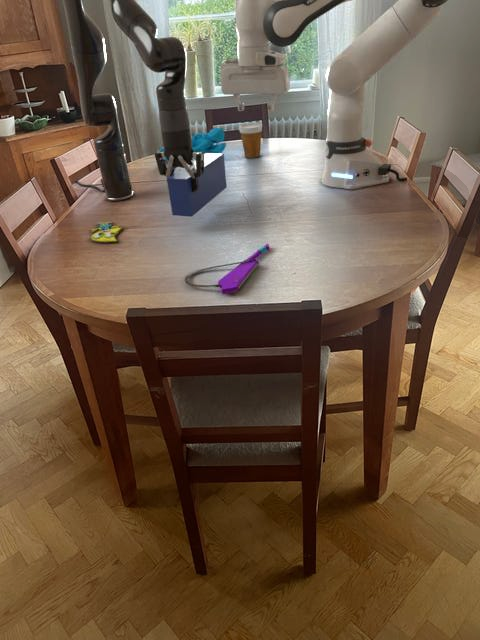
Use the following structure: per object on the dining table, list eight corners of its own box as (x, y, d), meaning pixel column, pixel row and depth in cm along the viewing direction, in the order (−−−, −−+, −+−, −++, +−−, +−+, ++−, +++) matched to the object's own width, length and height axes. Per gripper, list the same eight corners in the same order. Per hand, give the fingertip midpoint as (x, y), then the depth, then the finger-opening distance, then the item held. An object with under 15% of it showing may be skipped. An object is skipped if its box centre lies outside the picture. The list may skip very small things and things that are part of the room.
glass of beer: (264, 157, 198) (262, 127, 191) (241, 159, 198) (238, 129, 192) (263, 152, 206) (261, 122, 199) (241, 153, 206) (239, 124, 200)
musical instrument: (182, 302, 106) (271, 286, 103) (179, 293, 105) (270, 277, 102) (195, 260, 127) (269, 246, 124) (193, 253, 126) (268, 239, 123)
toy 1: (127, 219, 147) (117, 239, 134) (127, 222, 147) (117, 242, 135) (94, 222, 147) (81, 242, 135) (94, 225, 148) (82, 245, 135)
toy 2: (164, 141, 211) (226, 121, 200) (173, 164, 216) (234, 146, 206) (150, 151, 197) (216, 130, 187) (160, 176, 202) (225, 157, 192)
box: (209, 186, 154) (205, 153, 149) (226, 187, 152) (223, 153, 147) (172, 215, 135) (166, 178, 129) (191, 216, 133) (186, 179, 127)
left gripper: (143, 130, 123) (155, 194, 133) (193, 130, 119) (201, 196, 128) (158, 124, 129) (167, 185, 138) (206, 123, 124) (213, 187, 133)
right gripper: (215, 60, 136) (219, 112, 144) (284, 58, 130) (285, 112, 137) (224, 58, 141) (227, 108, 149) (291, 55, 134) (291, 108, 142)
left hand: (184, 190), depth 133 cm, fingers closed on box, 6 cm apart
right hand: (255, 110), depth 143 cm, fingers open, 8 cm apart
